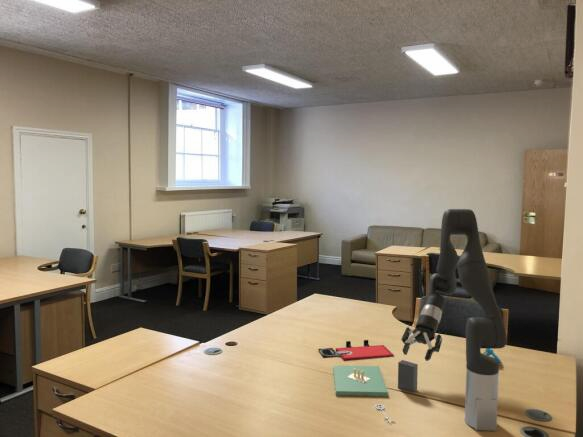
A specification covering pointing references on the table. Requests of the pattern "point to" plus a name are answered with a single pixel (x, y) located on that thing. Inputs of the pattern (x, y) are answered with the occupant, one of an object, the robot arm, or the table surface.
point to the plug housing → (407, 376)
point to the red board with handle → (357, 352)
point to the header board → (359, 380)
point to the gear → (490, 352)
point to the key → (382, 410)
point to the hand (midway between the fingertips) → (415, 356)
